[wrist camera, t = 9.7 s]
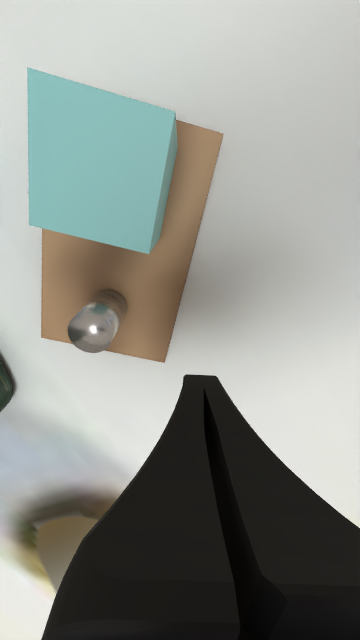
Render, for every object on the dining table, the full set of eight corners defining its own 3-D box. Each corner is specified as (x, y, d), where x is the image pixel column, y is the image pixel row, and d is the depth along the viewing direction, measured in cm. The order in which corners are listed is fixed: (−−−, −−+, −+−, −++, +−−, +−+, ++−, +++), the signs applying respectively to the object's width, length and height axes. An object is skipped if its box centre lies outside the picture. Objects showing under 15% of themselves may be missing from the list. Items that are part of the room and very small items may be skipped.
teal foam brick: (177, 147, 14) (175, 111, 9) (159, 238, 17) (149, 254, 11) (87, 121, 14) (27, 67, 9) (80, 218, 16) (29, 225, 11)
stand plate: (221, 137, 15) (223, 133, 14) (165, 357, 21) (164, 362, 21) (50, 87, 14) (43, 80, 13) (46, 332, 21) (41, 337, 20)
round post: (130, 293, 18) (115, 318, 14) (125, 324, 19) (109, 356, 15) (94, 285, 18) (68, 308, 14) (91, 317, 19) (66, 347, 15)
